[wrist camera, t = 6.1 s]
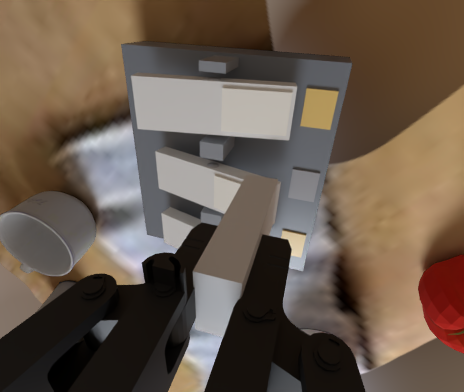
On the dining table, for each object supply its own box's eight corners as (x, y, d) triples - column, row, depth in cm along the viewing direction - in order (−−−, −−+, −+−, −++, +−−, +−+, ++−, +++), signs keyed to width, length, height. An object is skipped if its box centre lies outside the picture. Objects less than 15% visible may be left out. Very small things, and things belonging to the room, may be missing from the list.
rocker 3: (165, 146, 28) (153, 151, 27) (281, 181, 23) (272, 189, 22) (168, 183, 31) (157, 189, 29) (274, 222, 26) (266, 232, 24)
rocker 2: (137, 71, 23) (129, 75, 21) (295, 82, 22) (297, 86, 21) (143, 124, 25) (137, 130, 23) (287, 134, 24) (289, 142, 23)
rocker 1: (170, 206, 32) (160, 213, 31) (270, 248, 27) (263, 258, 26) (172, 235, 34) (163, 243, 33) (266, 279, 29) (258, 290, 28)
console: (145, 40, 29) (94, 47, 23) (349, 57, 25) (355, 70, 19) (162, 216, 40) (131, 253, 34) (305, 247, 36) (300, 295, 30)
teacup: (64, 168, 40) (12, 197, 34) (121, 225, 43) (83, 262, 36) (27, 212, 48) (-22, 243, 41) (77, 258, 50) (39, 294, 44)
